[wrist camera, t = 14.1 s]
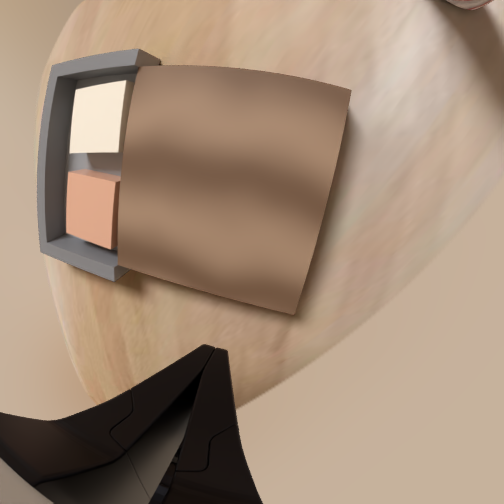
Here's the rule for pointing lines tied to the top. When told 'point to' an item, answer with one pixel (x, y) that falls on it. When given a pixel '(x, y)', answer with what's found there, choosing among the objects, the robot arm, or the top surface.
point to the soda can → (470, 3)
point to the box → (77, 156)
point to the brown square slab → (228, 179)
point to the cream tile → (101, 117)
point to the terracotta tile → (93, 206)
